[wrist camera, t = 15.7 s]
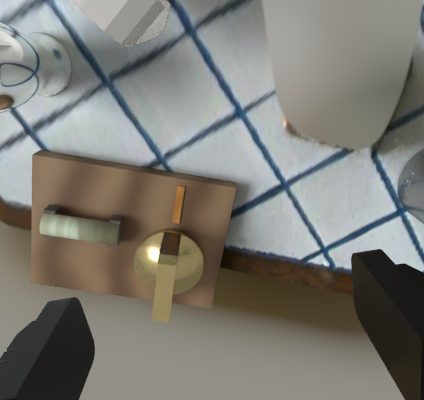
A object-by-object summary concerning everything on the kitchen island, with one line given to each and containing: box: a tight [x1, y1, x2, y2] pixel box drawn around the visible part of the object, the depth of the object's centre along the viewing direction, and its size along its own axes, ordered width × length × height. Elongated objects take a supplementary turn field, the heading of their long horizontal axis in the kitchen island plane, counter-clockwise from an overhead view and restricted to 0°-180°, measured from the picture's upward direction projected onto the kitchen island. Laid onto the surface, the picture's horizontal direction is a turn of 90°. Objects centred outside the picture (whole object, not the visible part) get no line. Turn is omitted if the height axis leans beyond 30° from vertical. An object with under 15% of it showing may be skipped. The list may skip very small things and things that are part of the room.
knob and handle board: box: [31, 150, 236, 308], centre depth 43 cm, size 22×16×5 cm
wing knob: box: [134, 229, 204, 323], centre depth 41 cm, size 8×8×6 cm
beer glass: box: [0, 23, 71, 114], centre depth 32 cm, size 7×7×15 cm
